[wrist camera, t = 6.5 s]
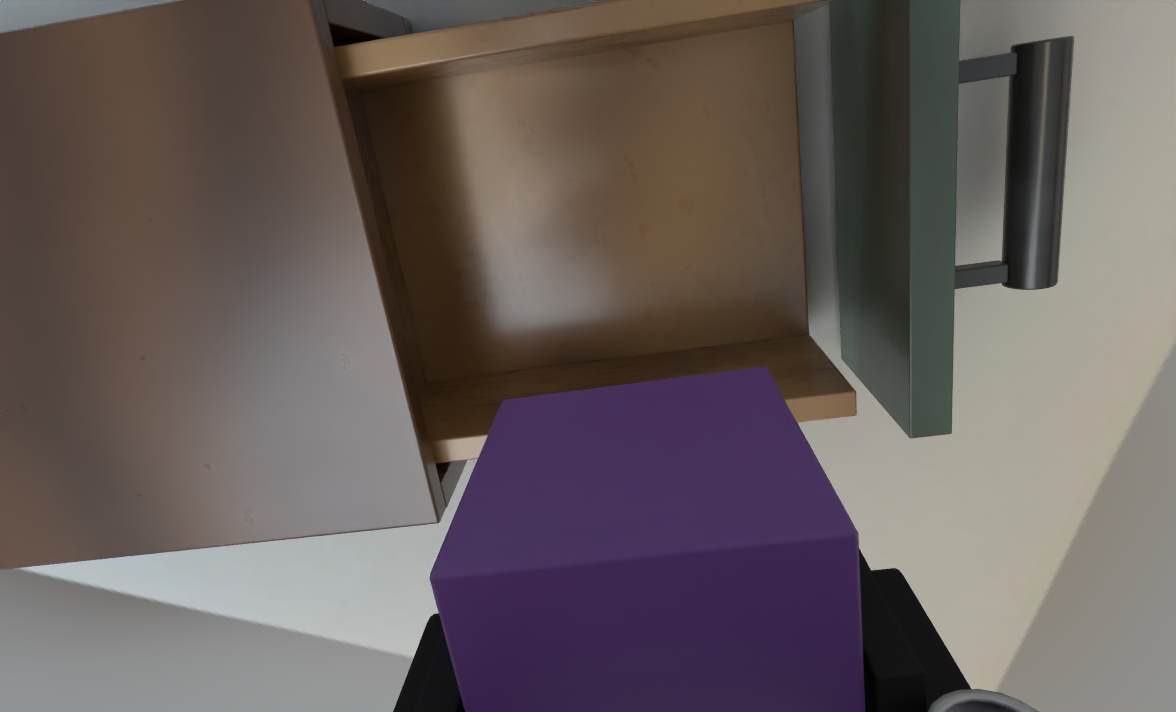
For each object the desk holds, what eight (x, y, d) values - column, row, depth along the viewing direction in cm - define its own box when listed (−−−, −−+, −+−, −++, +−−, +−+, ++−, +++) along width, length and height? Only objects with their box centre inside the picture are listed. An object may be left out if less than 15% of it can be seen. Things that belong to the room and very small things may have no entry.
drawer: (1004, -67, 22) (1160, -136, 16) (989, 341, 27) (1106, 417, 20) (338, 46, 24) (235, 26, 18) (425, 409, 29) (368, 498, 22)
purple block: (501, 398, 11) (426, 576, 7) (766, 364, 11) (860, 531, 7) (571, 736, 14) (546, 1029, 9) (795, 717, 13) (878, 1014, 9)
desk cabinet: (409, 18, 25) (304, -24, 17) (490, 406, 30) (440, 524, 21) (-80, 102, 27) (-397, 102, 18) (72, 457, 31) (-125, 584, 23)
